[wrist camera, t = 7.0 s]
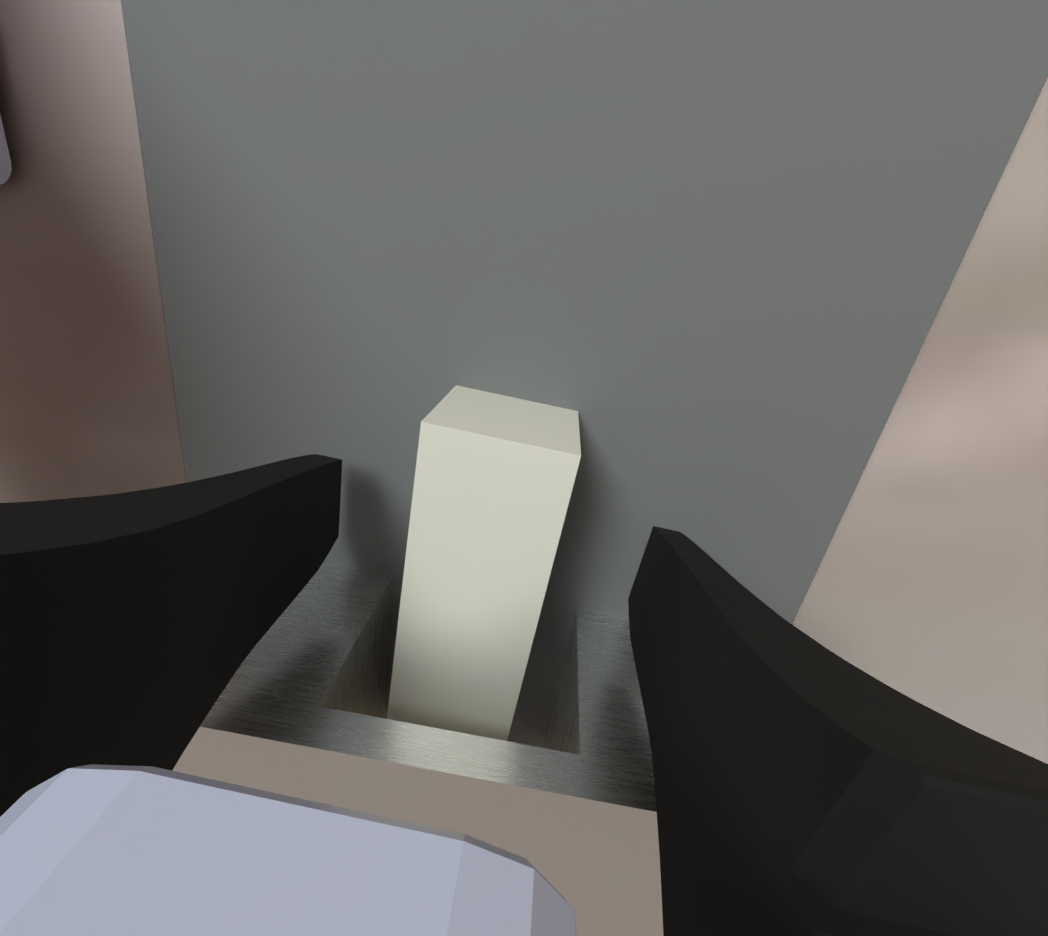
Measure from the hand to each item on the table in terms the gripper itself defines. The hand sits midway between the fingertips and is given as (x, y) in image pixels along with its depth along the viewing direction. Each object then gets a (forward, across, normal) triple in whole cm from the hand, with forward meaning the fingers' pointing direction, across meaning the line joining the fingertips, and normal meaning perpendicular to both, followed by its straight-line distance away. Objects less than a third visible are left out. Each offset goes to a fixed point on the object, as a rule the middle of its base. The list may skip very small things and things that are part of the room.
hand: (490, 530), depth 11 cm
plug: (+1, 0, +5) cm, 5 cm away
